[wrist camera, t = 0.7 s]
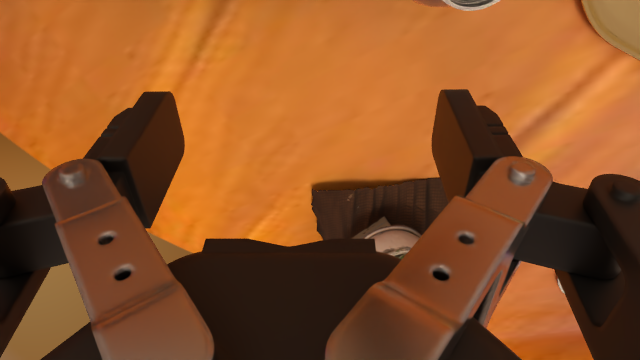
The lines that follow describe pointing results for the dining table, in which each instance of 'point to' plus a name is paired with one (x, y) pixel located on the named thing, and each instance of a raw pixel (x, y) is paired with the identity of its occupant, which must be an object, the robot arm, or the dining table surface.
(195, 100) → the dining table surface
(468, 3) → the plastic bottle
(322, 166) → the dining table surface
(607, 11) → the serving platter
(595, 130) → the dining table surface
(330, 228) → the potted plant
